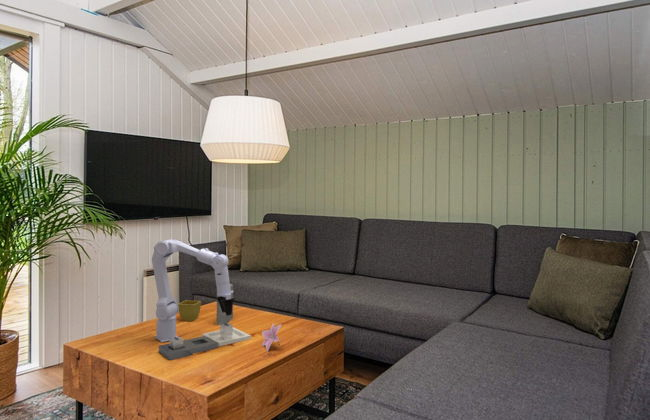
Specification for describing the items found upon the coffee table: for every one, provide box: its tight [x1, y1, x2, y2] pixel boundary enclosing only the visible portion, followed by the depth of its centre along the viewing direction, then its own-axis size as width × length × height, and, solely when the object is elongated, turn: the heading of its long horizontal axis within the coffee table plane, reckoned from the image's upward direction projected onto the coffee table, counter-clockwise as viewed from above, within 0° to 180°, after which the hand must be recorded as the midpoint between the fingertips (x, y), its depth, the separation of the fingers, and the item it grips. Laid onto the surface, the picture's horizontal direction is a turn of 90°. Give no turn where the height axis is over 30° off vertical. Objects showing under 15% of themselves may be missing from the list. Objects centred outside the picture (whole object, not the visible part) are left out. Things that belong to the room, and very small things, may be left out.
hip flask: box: [216, 283, 234, 326], centre depth 226 cm, size 16×4×20 cm, turn 170°
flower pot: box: [177, 299, 202, 322], centre depth 229 cm, size 9×9×9 cm
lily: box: [261, 322, 282, 352], centre depth 190 cm, size 12×12×10 cm
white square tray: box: [201, 327, 252, 348], centre depth 199 cm, size 16×16×2 cm
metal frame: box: [158, 335, 218, 361], centre depth 185 cm, size 12×20×2 cm, turn 130°
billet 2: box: [219, 322, 234, 340], centre depth 199 cm, size 4×4×6 cm
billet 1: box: [169, 336, 184, 350], centre depth 181 cm, size 4×4×6 cm
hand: (226, 313), depth 195 cm, fingers open, 7 cm apart
